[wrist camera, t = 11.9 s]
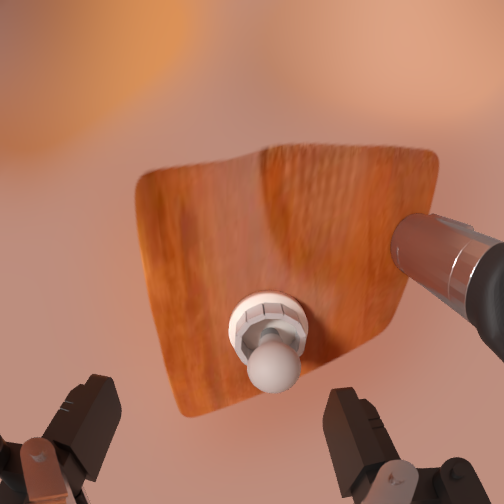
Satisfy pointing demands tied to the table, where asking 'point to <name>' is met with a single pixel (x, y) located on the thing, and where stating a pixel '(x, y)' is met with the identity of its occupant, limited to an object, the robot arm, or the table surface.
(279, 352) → the lightbulb
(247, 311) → the lamp base
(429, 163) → the table surface
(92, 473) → the robot arm
